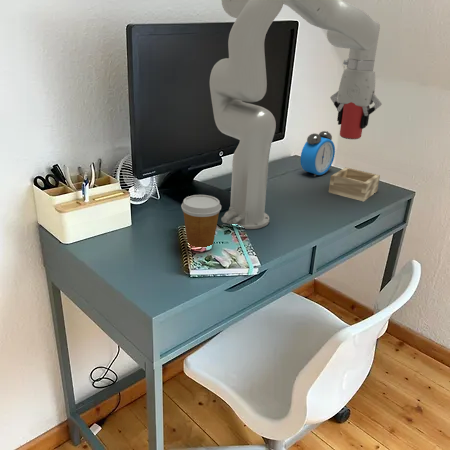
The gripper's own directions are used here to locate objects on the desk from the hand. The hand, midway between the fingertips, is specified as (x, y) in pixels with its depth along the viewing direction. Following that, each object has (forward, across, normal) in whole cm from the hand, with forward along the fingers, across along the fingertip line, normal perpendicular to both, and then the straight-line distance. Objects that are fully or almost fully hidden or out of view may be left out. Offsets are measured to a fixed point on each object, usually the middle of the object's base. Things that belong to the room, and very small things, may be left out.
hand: (351, 125), depth 153 cm
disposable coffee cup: (+22, -12, -61) cm, 66 cm away
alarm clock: (+22, -15, +12) cm, 30 cm away
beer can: (+4, 0, 0) cm, 4 cm away
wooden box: (+22, +3, +3) cm, 23 cm away
